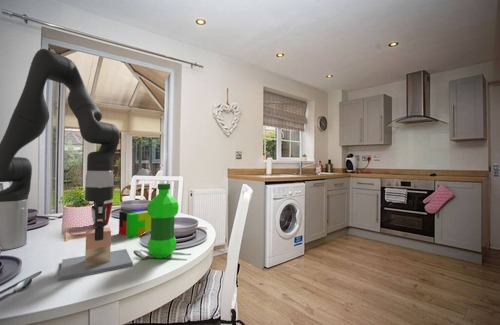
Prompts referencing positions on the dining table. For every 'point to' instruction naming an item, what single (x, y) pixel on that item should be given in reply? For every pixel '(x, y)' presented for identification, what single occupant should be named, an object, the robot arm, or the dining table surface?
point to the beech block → (97, 255)
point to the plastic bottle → (162, 223)
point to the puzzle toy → (134, 222)
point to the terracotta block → (101, 243)
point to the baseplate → (78, 268)
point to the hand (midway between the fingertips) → (98, 236)
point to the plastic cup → (108, 210)
